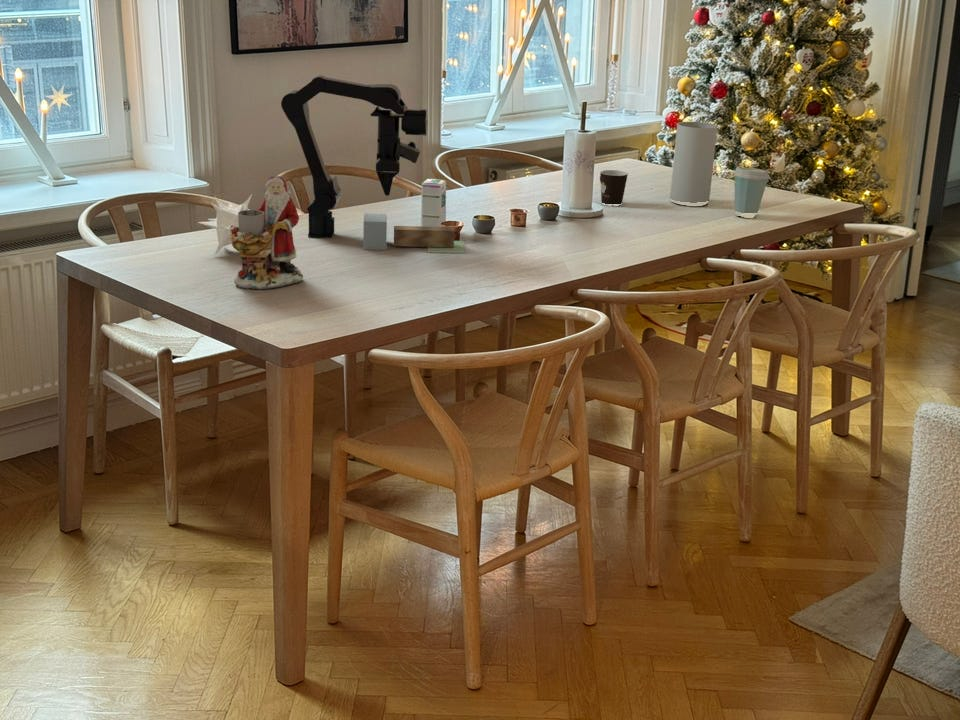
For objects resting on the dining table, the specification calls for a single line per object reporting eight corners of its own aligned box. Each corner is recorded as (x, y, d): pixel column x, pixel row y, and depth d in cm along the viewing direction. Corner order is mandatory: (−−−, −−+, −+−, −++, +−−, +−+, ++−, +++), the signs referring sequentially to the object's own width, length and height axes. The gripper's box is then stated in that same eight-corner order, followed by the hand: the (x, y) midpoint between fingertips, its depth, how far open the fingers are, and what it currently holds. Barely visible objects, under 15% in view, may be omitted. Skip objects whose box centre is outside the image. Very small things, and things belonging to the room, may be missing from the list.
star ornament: (186, 250, 304) (184, 194, 299) (230, 242, 314) (228, 188, 310) (238, 263, 292) (236, 206, 287) (281, 254, 303) (280, 198, 298)
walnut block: (393, 246, 313) (394, 229, 311) (393, 242, 317) (394, 225, 315) (453, 247, 314) (454, 230, 313) (453, 243, 318) (453, 227, 316)
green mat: (428, 252, 310) (428, 251, 310) (426, 240, 321) (426, 240, 321) (466, 253, 311) (466, 252, 311) (463, 241, 322) (463, 240, 322)
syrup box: (440, 235, 328) (442, 183, 322) (420, 233, 329) (421, 182, 324) (445, 230, 333) (447, 179, 328) (425, 228, 334) (426, 178, 329)
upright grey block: (363, 249, 310) (363, 221, 307) (364, 240, 318) (364, 213, 316) (386, 250, 311) (386, 222, 308) (386, 241, 319) (386, 213, 316)
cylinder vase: (665, 198, 384) (672, 121, 376) (702, 198, 386) (710, 122, 377) (675, 207, 373) (683, 127, 364) (713, 207, 374) (722, 128, 366)
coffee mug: (626, 207, 369) (629, 176, 366) (599, 206, 369) (601, 175, 366) (622, 199, 380) (625, 168, 376) (596, 198, 380) (598, 167, 376)
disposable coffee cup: (732, 210, 371) (737, 163, 366) (766, 215, 367) (772, 167, 362) (726, 217, 362) (731, 169, 356) (761, 222, 358) (767, 173, 353)
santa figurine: (238, 293, 271) (235, 186, 262) (226, 276, 283) (222, 174, 274) (309, 287, 277) (308, 183, 268) (294, 271, 289) (292, 171, 280)
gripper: (419, 141, 304) (417, 200, 310) (418, 128, 322) (416, 185, 327) (376, 139, 303) (375, 199, 309) (377, 127, 321) (376, 184, 326)
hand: (387, 191), depth 318 cm, fingers open, 9 cm apart
